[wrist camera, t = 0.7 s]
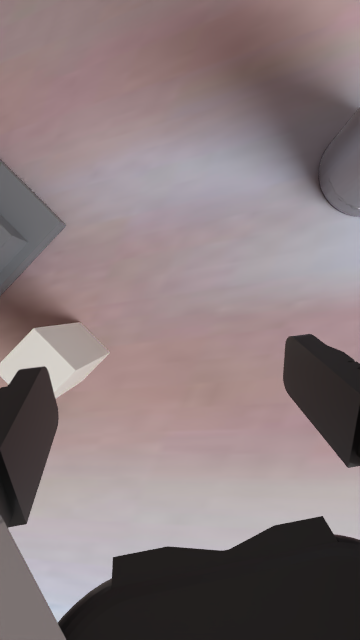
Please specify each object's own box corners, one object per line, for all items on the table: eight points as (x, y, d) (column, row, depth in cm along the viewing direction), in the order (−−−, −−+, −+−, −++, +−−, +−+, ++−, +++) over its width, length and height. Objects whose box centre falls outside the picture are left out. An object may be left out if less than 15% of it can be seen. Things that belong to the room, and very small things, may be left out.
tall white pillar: (80, 322, 35) (33, 328, 25) (110, 352, 35) (75, 370, 25) (51, 352, 35) (-7, 369, 25) (81, 382, 35) (35, 411, 25)
